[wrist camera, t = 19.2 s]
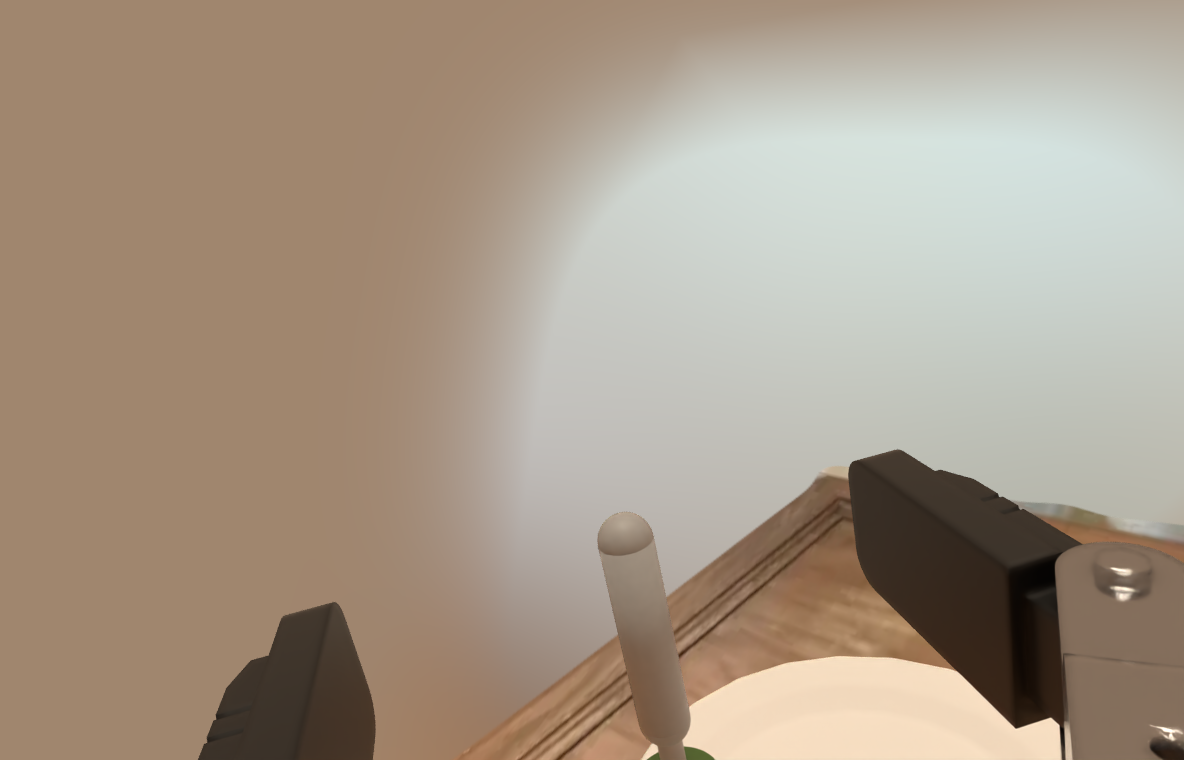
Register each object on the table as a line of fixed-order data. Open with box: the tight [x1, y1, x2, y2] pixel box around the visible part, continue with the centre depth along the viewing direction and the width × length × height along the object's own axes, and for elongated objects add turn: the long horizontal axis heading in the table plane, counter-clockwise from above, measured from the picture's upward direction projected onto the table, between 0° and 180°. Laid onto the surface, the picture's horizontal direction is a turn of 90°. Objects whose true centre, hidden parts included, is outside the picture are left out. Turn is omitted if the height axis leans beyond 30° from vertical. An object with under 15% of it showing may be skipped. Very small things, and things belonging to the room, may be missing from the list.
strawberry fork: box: [598, 512, 715, 760], centre depth 28 cm, size 5×5×16 cm
